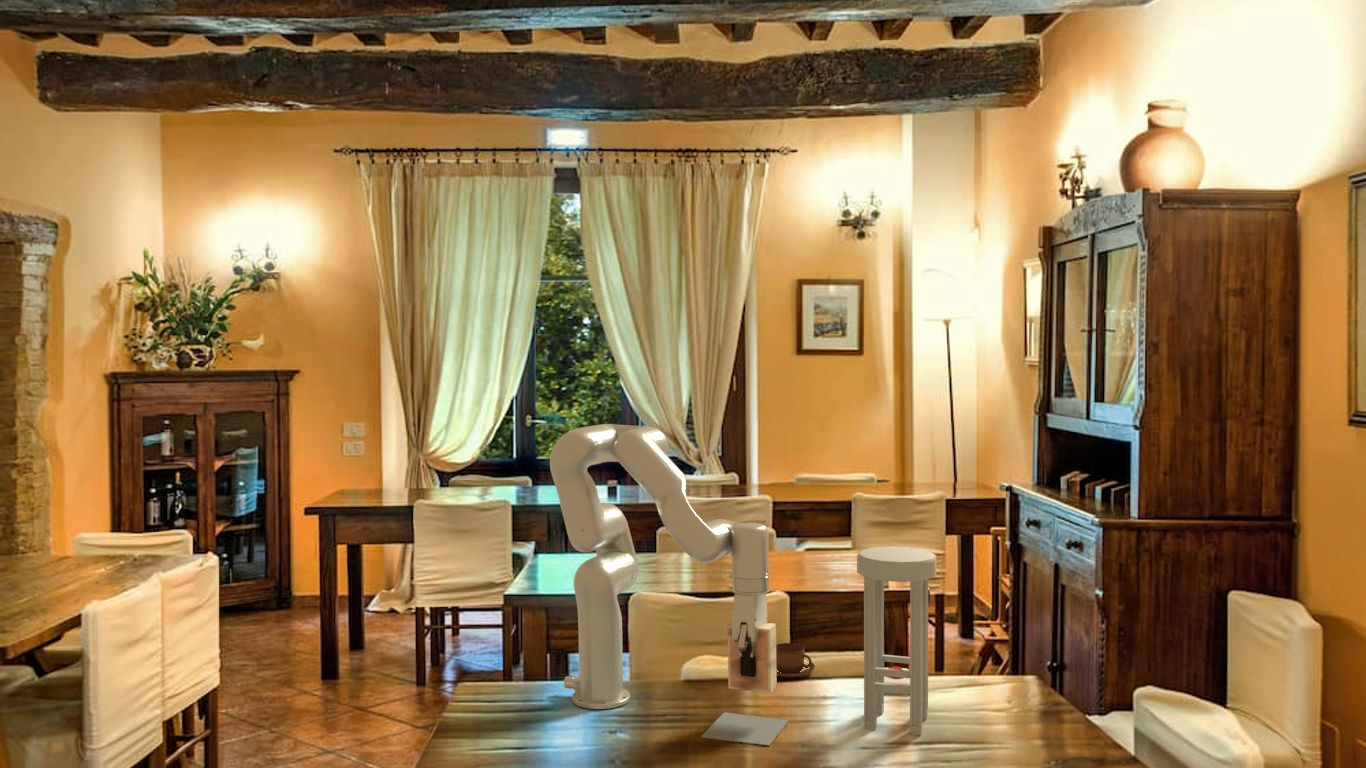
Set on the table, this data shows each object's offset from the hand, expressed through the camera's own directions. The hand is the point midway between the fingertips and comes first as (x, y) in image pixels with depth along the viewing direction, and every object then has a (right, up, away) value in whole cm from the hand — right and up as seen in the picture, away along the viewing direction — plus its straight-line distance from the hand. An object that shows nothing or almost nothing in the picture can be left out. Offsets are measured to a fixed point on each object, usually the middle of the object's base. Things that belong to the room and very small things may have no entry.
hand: (752, 671), depth 220 cm
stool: (+30, -11, 0) cm, 32 cm away
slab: (0, -3, 0) cm, 3 cm away
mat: (-1, -11, -3) cm, 11 cm away
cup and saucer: (+11, -9, +33) cm, 36 cm away
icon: (+33, -10, +23) cm, 41 cm away
